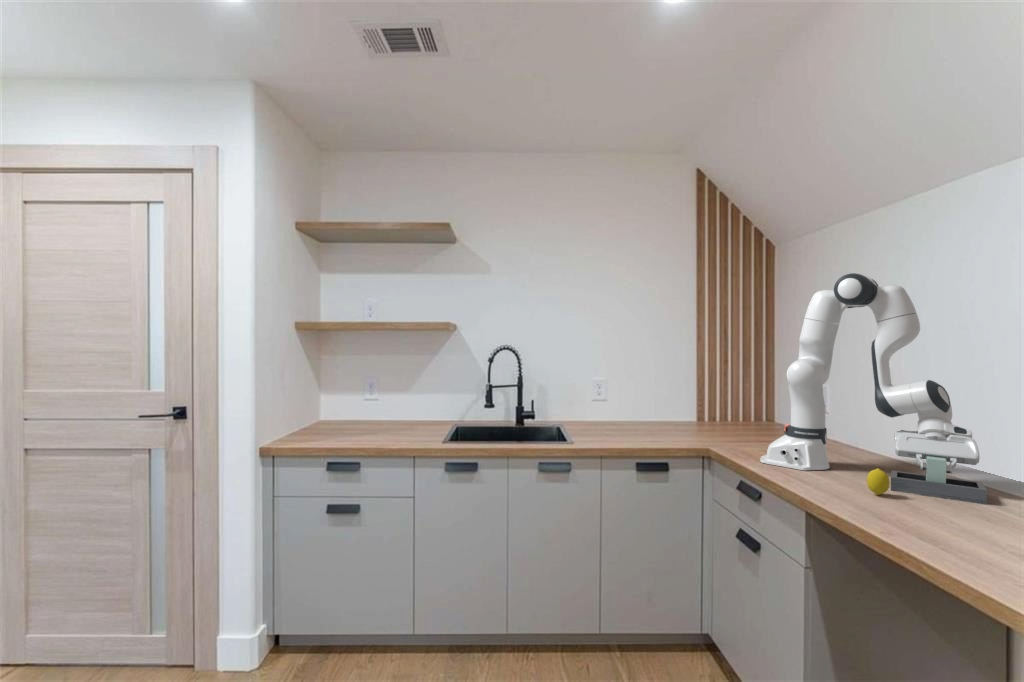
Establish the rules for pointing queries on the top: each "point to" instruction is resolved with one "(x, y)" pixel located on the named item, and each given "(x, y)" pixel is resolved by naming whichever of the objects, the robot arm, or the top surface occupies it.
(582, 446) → the top surface
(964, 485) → the bottom track
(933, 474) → the door block
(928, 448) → the robot arm
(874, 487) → the lemon
